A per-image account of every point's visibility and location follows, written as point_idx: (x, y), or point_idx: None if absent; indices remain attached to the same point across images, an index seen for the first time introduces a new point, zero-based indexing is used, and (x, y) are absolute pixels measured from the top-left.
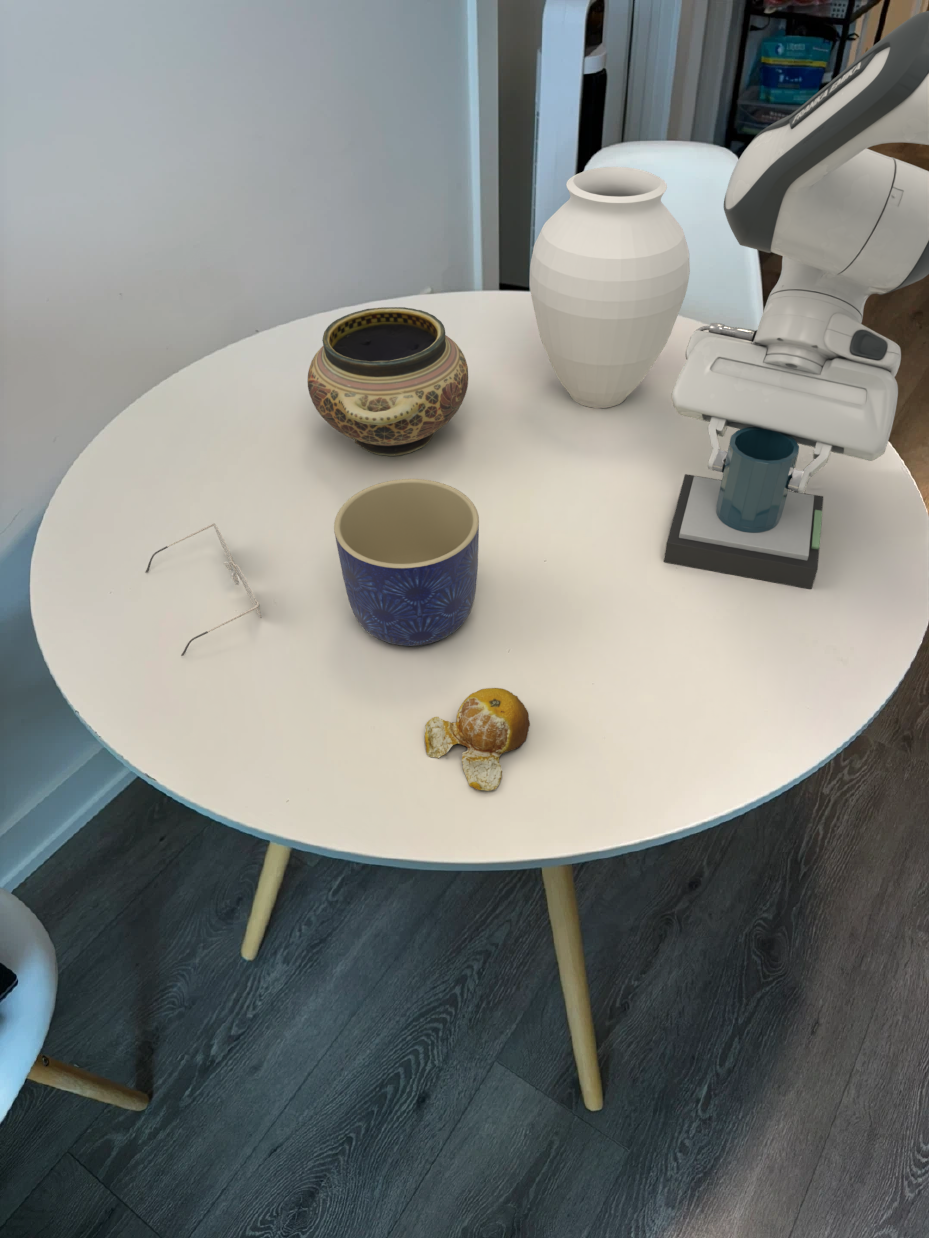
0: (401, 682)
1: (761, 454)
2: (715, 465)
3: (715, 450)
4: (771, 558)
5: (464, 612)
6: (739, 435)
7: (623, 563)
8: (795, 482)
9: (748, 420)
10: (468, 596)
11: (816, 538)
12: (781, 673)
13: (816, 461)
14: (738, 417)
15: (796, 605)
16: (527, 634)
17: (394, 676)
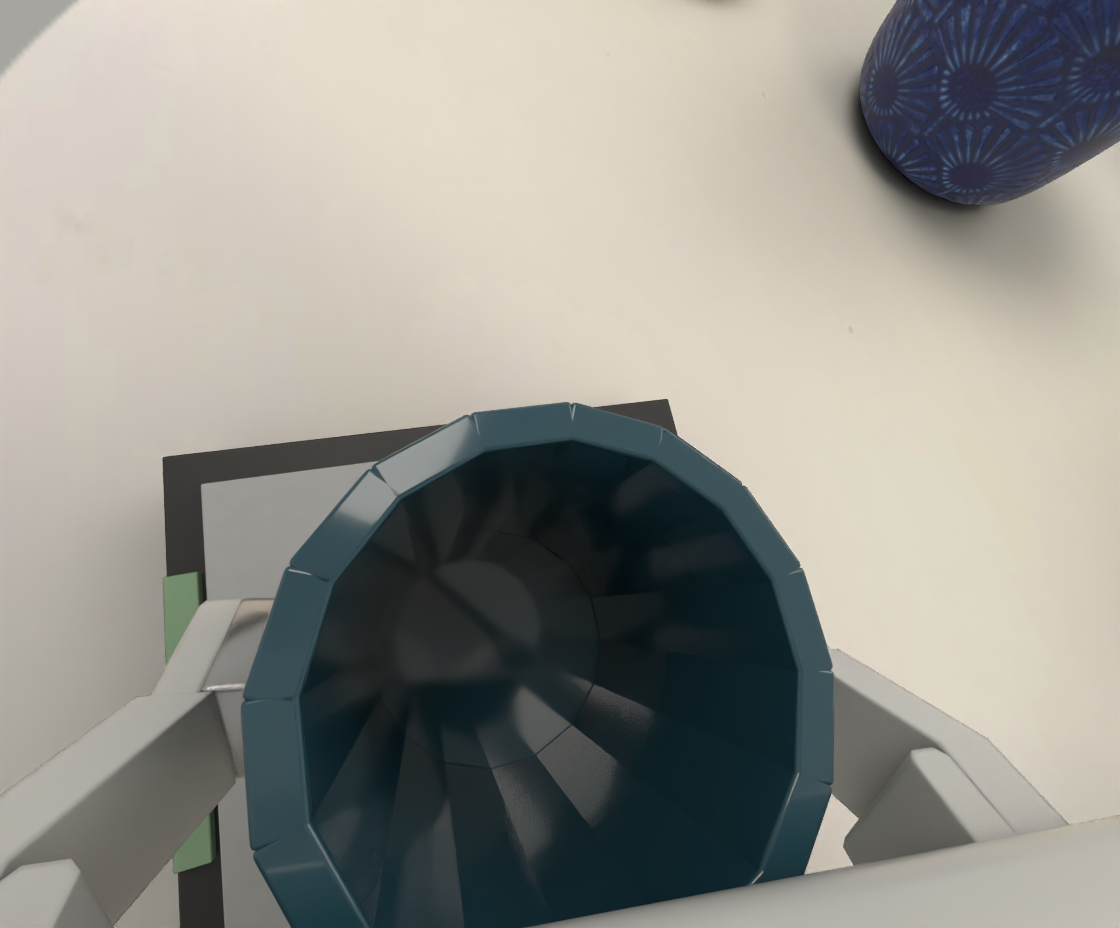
0: (846, 14)
1: (561, 849)
2: None
3: None
4: (345, 449)
5: (885, 47)
6: (790, 731)
7: (716, 383)
8: (268, 609)
9: (863, 883)
10: (914, 15)
11: (181, 630)
12: (245, 149)
13: (58, 788)
14: (956, 877)
15: (242, 393)
16: (761, 135)
17: (861, 22)
